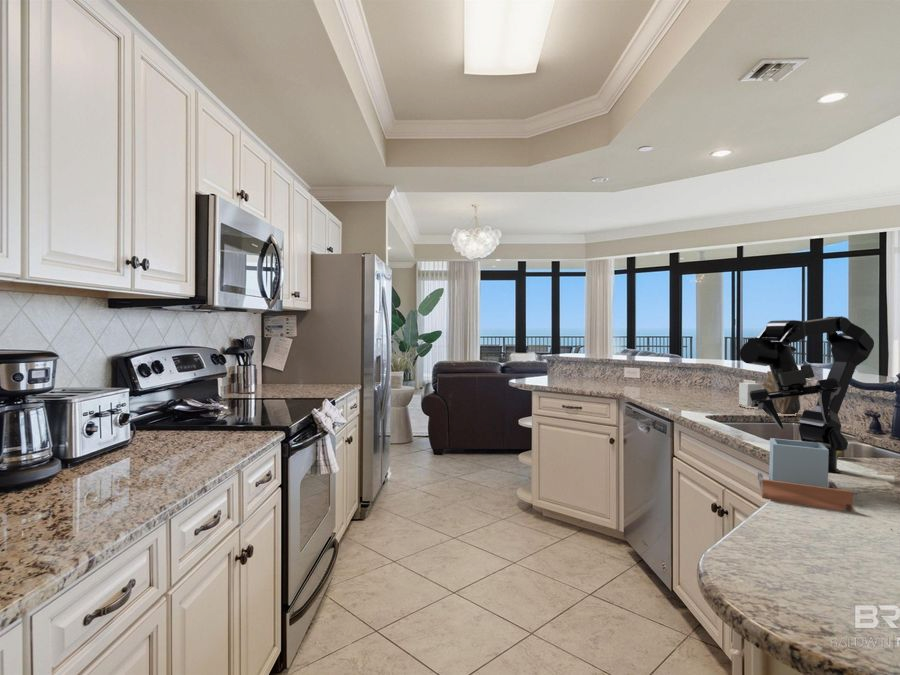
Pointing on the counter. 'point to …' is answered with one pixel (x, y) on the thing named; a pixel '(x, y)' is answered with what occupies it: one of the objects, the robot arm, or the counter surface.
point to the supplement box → (747, 392)
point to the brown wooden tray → (806, 494)
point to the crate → (798, 462)
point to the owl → (783, 404)
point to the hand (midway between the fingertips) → (804, 426)
